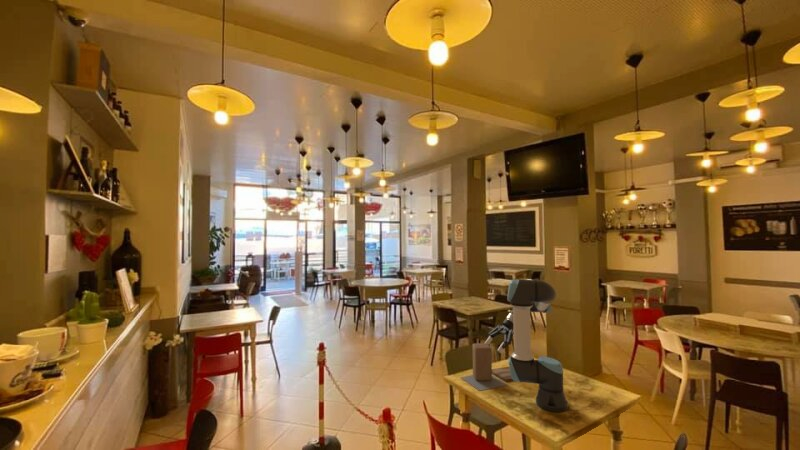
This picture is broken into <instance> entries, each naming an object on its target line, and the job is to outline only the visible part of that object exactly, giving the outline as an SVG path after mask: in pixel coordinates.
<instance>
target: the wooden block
mask: <svg viewBox="0 0 800 450" xmlns="http://www.w3.org/2000/svg"><path fill="white" fill-rule="evenodd" d="M471 345H472V375H474V377H475V379H476V380H477V381H491V380H492V376H493V374H492V368H493V365H492V363H493V362H492V359H493V358H492V348H491V346H490V344H489V345H488V344H487V343H485V342H483V343H479V342H478V343H472V344H471Z"/></svg>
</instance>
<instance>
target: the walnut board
mask: <svg viewBox="0 0 800 450" xmlns="http://www.w3.org/2000/svg"><path fill="white" fill-rule="evenodd" d="M492 376H494V377H496V378H497V379H499V380H501V381H502V382H504V383H507V382H514V381H513V380H512V378H511V374H510V368H509V366H505V367H498V368H493V369H492Z"/></svg>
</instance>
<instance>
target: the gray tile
mask: <svg viewBox="0 0 800 450" xmlns="http://www.w3.org/2000/svg"><path fill="white" fill-rule="evenodd" d="M460 379H462V380H463V381H465V382H466V383H467V384H468V385H470V386H471V387H473V388H474V389H476V390H477V391H478V392H480V391H481V392H482V391H487V390H491V389H495V388H500V387H501V388H502V387H506V386H508V384H507V383H506V382H505V381H503V380H501V379H500V378H498V377H496V376H495V375H492V380H491V381H477V380H476V379H475V377H474V375H473V374H472V375H471V374H470V375H467V376H461V377H460Z"/></svg>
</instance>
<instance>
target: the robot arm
mask: <svg viewBox="0 0 800 450" xmlns="http://www.w3.org/2000/svg"><path fill="white" fill-rule="evenodd" d="M556 297H557V291H556V289H555V288H554V286H553V285H551V284H550V283H549V282H546V281H544V280H541V279H521V278H520V279H517V278H516V279H510V280H509V282H508V288H507V300H506V301H507V302H509V305H510V306H511V307H512V309H511V310H510V312H509V313H508V314H507V316H506V317H505V319H504V320H503V322H502V323H501V324H502V325H500V324H498V325H496V327H495V328H493V329H492V330H490V331H489V332H488V333H487V335H488V337H487V339H486V340H485V341H484V343H487V344H488V345H489V346H490V343H491V342H492V341H493V338H495V337H496V336H499V335H503V336H504V337H503V338H504V339H503V341H502V343H501V344H500V346H499V347H498V348H497V350H496V351H497V352H498V353H499V354H501V353H502V352H503V351H504V349H506V347H507V346H511V345H512V341H513V352H511V354H510V357H508V359H507V360H508V367H509V368H510V374H511V378H512V380H513V381H512V382H518V383H527V384H528V383H529V384H537V385H538V390H537V394H536V397H535V404H536V406H537V407H539V408H540V409H542V410H545V411H548V412H553V413H562V412H566V411H567V410H568V407H569V406H568V401H567V398H566V395H565V392H564V370H563V369H564V367H563V365H562V363H561V362H560V361H559V360H557V359H555V358H552V357H548V356H539V357H538V358H537V359H535V356H534V355H533V353H532V348H531V347H532V341H531V339H532V337H531V336H532V335H531V334H532V333H531V313H543V314H546V313H547V314H549V313H551V311H552V310H551V309H552V305H551V304H552V303H553V302H554V301H555V300H556Z"/></svg>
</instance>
